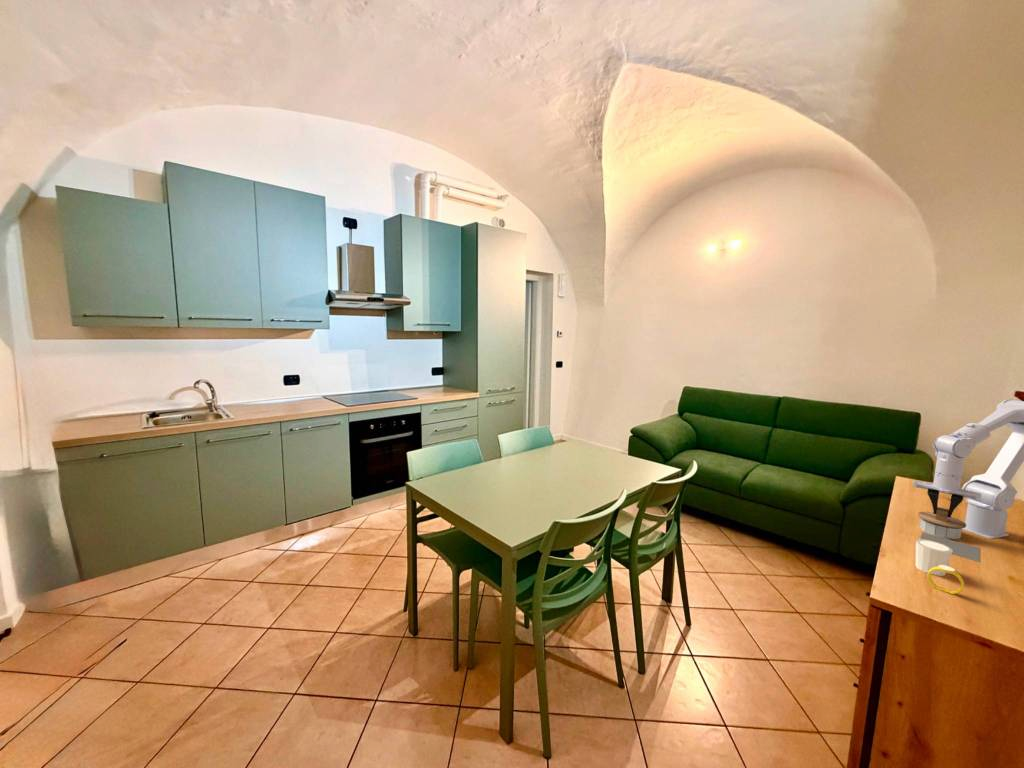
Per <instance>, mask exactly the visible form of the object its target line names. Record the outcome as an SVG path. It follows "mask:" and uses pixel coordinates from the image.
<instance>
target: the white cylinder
mask: <svg viewBox="0 0 1024 768" xmlns="http://www.w3.org/2000/svg"><path fill="white" fill-rule="evenodd" d="M952 552H953V550H952V549H951V548H950V547H948V546H946V545H944V544H941V543H938V542H934V541H931V540H925V539H920V538H918V539H916V540H915V568H916V569H918V570H920V571H921V570H922V571H921V572H924V573H926V572H927V573H926V574H928V572H929V570H930V569H932V568H933V567H938V566H939V565H945V566H949V564H950V561H951V558H952V555H953V554H952ZM932 574H934V575H933V576H937V575H938V577H944V576H946V574H947V573H946V572H943V571H941V570H934V571H933V572H931V574H930V575H932Z"/></svg>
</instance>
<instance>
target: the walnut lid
mask: <svg viewBox="0 0 1024 768" xmlns="http://www.w3.org/2000/svg"><path fill="white" fill-rule="evenodd" d="M948 511H949V508H943V507H939V506H938V508H937V512H936V514H933V512H932V511H920V512H918V513H917V516H918V518H920V520H921V519H923V520H925V521H928V522H931V523H934V524H937V525H941V526H945V527H951V528H965V527H966V523H965V521H963V520H962V519H961V520H960V519H958V518H957V517H954V516H951V518H949V517H947V516H948Z"/></svg>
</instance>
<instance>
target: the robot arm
mask: <svg viewBox="0 0 1024 768" xmlns="http://www.w3.org/2000/svg"><path fill="white" fill-rule="evenodd" d="M995 409H996V410H995V411H993V412H992V413H991V414H989V415H987V416H986V417H985V418H983V419H982V420H981V421H979V422H978V423H975V422H970V423H969V422H968V423H966V424H965V426H962V427H961V428H959V429H957V430H955V431H954V432H952V433H950V434H949V435H947V434H946V435H945V434H943V435H940V436H939V437H936V439H935V441H934V442H933V443H932V448H933V449H934V451H935V453H934V456H935V457H936V463H935V464H936V465H935V470H934V476H933V482H929V481H928V482H927V481H923V480H922V481H920V480H915V479H914V480H913V484H912V487H913V488H916V489H918V488H919V489H923V490H927V496H928V498H929V500H930V502H931V506H932V510H933V514H936V512H937V508H938V507H939V506H938V505H939V504H938V503H939V497H940V493H943V494H947V495H951V496H950V503H949V507H948V509H949V511H948V516H947V517H949V518H951V517H952V514H953V513H954V511H955V510H956V508H957V507H958V506H959V505H960V504H961V503H962V502H963V501H964V499H965V502H967V507H966V515H965V521H964V523H966V527H965V528H962V531H967V532H969V533H972V534H975V535H977V536H980V537H984V538H987V539H990V540H991V539H996V538H1003V537H1008V536H1010V534H1009V533H1006V531H1007V530H1006V529H1007V523H1008V517H1009V516H1008V512H1007V510H1009V509H1010V508H1012V506H1014V502H1015V497H1016V496H1017V493H1018V491H1017V490H1016V488H1015V487H1014V485H1012V484H1011V481H1012V479H1013V478H1014V477H1015V476H1016V473H1017V472H1018V471H1019V470H1020V468H1021V466H1022V464H1023V463H1024V401H1023V400H1016V399H1011V398H1008V399H1004V400H1003V401H1001V402H1000V403H998V404H997V405H996V408H995ZM1003 426H1006V427H1008V428H1009V429H1011V431H1012V432H1011V434H1010V435H1009V437H1008V439H1006V441H1005V442H1004V445H1003V446H1002V447H1001V449H1000V451H999V452H998V453H997V455H996V457H995V458H994V460H993V461H992V463H991V464H990V465H989V467H988V468H987V470H986V472H985V473H982V474H976V475H973V476H972V477H971V478H970V479H969V480H968V481H966V482H965V483H964V484H963V486H962V487H961V483H962V477H963V470H964V465H965V464H964V463H965V458H966V457H968V456H970V455H971V453H972V452H973V450H974V449H976V446H977V445H979V444H981V443H983V442H984V441H986V440H987V439H989V438H990V436H991V432H993V431H995V430H996V429H1000V428H1002V427H1003Z"/></svg>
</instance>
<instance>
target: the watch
mask: <svg viewBox="0 0 1024 768" xmlns="http://www.w3.org/2000/svg"><path fill="white" fill-rule="evenodd" d="M934 570H941V571H943V572H946V574H951V575H954V576H955V577H956V578H958V580H959V583H960V587H959V588H958V589H955V590H954V589H953V590H951V589H948V588H945V587H942V586H938V585H937V584H936V583H934V581H933V579H932V578H931V575H932V574H931V572H933V571H934ZM927 581H928V583H929V584H930V585H931V586H932V587H933V589H935V590H938V591H942V592H945V593H948V594H950V595H955V594H960V593H961V592H962V591H963V590H964V588H965V586H964V585H965V581H964V579H963V577H962V576H961V575H960V574H959V573H958V572H957V571H956V569H955V568H953V567H950V566H949V565H948V566H945V565H939V566H938V567H933V568H932V569H930V570H929V572H928V573H927Z"/></svg>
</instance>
